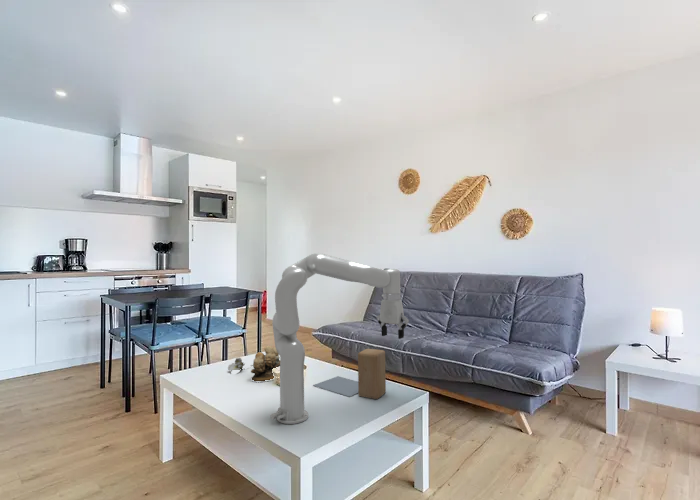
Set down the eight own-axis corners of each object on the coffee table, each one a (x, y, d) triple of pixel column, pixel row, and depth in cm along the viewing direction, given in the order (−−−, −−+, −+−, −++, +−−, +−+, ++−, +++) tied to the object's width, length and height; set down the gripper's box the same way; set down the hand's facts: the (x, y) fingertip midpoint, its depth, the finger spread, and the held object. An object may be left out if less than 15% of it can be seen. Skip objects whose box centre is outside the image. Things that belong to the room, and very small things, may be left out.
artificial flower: (270, 369, 228) (270, 354, 225) (231, 381, 216) (230, 365, 213) (264, 362, 235) (264, 347, 232) (226, 373, 223) (225, 357, 220)
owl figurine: (275, 371, 220) (274, 340, 220) (288, 376, 212) (287, 344, 212) (246, 379, 207) (246, 346, 207) (258, 384, 199) (258, 350, 199)
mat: (349, 397, 180) (349, 396, 180) (313, 385, 195) (313, 385, 195) (374, 386, 193) (374, 385, 193) (338, 376, 209) (338, 376, 209)
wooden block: (357, 396, 180) (357, 352, 180) (367, 389, 189) (366, 347, 189) (377, 400, 176) (377, 355, 176) (386, 392, 184) (385, 349, 184)
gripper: (371, 296, 177) (371, 335, 177) (403, 299, 166) (404, 341, 166) (381, 295, 183) (381, 333, 183) (413, 297, 172) (414, 338, 172)
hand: (392, 336), depth 174 cm, fingers open, 8 cm apart
